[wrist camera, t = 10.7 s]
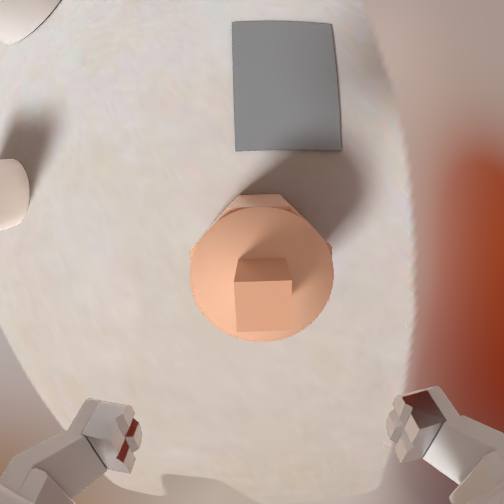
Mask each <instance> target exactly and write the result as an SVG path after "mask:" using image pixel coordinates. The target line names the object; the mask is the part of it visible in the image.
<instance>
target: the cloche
mask: <svg viewBox="0 0 504 504" xmlns="http://www.w3.org/2000/svg"><path fill="white" fill-rule="evenodd" d="M190 258H191V266H190V284H191V290H192V293H193V296H194V299H195V304H196V305H197V306H198V307H199V309H200V310H201V312H202V313H203V315H204V316H205V317H206V318H207V319H208V320H209V321H210V322H211V323H212V324H213V325H214V326H215V327H217V328H218V329H220V330H221V331H223V332H225V333H226V334H228V335H230V336H233V337H236V338H238V339H242V340H246V341H253V342H270V341H276V340H281V339H284V338H287V337H290V336H292V335H294V334H296V333H298V332H300V331H301V330H303V329H304V328H306V327H307V326H308V325H310V324H311V323H312V322H313V321H314V320H315V319H316V318H317V317H318V315H319V314H320V313H321V312H322V310H323V309H324V307H325V305H326V303H327V302H328V301H329V296H330V294H331V290H332V286H333V278H334V271H333V262H332V247H331V245H330V244H329V243H328V242H327V241H326V240H325V239H324V238H323V237H322V236H321V235H320V234H319V233H318V232H317V231H316V229H315V228H314V227H313V226H312V225H311V224H310V223H309V222H308V221H307V220H306V219H305V218H304V217H303V216H302V215H301V214H300V213H299V212H298V211H297V210H295V209H294V208H293V207H292V206H291V205H290V204H289V203H288V202H287V201H286V200H285V199H284V198H283V197H282V196H281V195H280V194H258V195H238V196H237V197H236V198H235V199H234V200H233V201H232V202H231V203H230V204H229V205H228V206H227V208H226V209H225V210H224V211H223V212H222V213H221V214H220V215H219V216H218V217H217V218H216V220H215V221H214V222H213V223H212V224H211V225H210V226H209V228H208V229H207V230H206V231H205V233H204V234H203V235H202V236H201V238H200V239H199V240H198V242H197V243H196V244H195V245H194V247H193V248H192V249H191V251H190Z"/></svg>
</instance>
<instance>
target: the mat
mask: <svg viewBox="0 0 504 504" xmlns="http://www.w3.org/2000/svg"><path fill="white" fill-rule="evenodd" d="M232 51H233V89H234V122H235V151H256V150H329V151H341V131H340V112H339V97H338V84H337V72H336V62H335V53H334V44H333V36H332V29H331V24H324V23H313V22H296V21H243V22H232Z"/></svg>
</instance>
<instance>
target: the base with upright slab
mask: <svg viewBox="0 0 504 504" xmlns="http://www.w3.org/2000/svg"><path fill="white" fill-rule="evenodd" d="M29 199H30V187H29V180H28V177H27V174H26V171H25V169H24V168H23V166H22V165H21V164H20V163H19V162H18V161H17V160H14V159H0V231H2V230H5V229H8V228H10V227H13V226H16V225H18V224H19V223H20V222H21V221H22V220H23V218H24V217H25V215H26V212H27V209H28V205H29Z"/></svg>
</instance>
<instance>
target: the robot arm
mask: <svg viewBox="0 0 504 504" xmlns="http://www.w3.org/2000/svg"><path fill="white" fill-rule="evenodd" d="M59 2H60V0H0V41H1V42H2V43H3V44H13V43H16V42H18V41H20V40H22V39H23V38H25V37H26V36H27V35H29V34H30V33H31V32H33V31H34V30H35V29H36V28H37V27H38V26H39V25H40V24H41V23H42V22H43V21H44V20H45V19H46V18H47V17H48V16H49V14H50V13H51V12H52V11H53V10H54V8H55V7H56V6H57V4H58V3H59ZM393 406H394V409H393V410H392V411H391V412H390V413H389V415H388V418H387V432H388V435H389V438H390V439H391V440H392V441H394V442H396V446H395V448H394V450H395V452H396V454H397V457H398V459H399V461H400V463H405V462H409V461H412V460H415V459H419V458H422V457H423V459H424V460H426V461H427V462H428V463H430V464H431V465H433V466H434V467H435V468H437V469H438V470H440V471H441V472H442V473H444V474H445V475H447V476H448V477H449V478H451V479H452V480H454V481H455V482H456V483H458V484H459V486H458V487H457V488H456V489H455V490H454V492H452V494H451V495H450V501H451V503H452V504H504V433H502V432H500V431H497V430H495V429H493V428H490V427H488V426H486V425H484V424H481V423H479V422H477V421H475V420H473V419H470V418H468V417H466V416H464V415H463V416H460V415H459V414H458V413H457V411H456V410H455V408H454V407H453V405H452V404H451V402H450V401H449V400H448V398H447V397H446V395H445V394H444V392H443V391H442V390H441V388H440V387H438V386H434V387H430V388H426V389H423V390H418V391H414V392H410V393H406V394H402V395H398V396H397V397H396V398H395V399H394V402H393ZM134 414H135V413H134V410H133V408H132V406H129V405H123V404H118V403H112V402H107V401H101V400H97V399H92V398H89V399H87V400H85V402H84V404H83V405H82V407H81V409H80V410H79V412H78V414H77V415H76V417H75V419H74V420H73V422H72V424H71V425H70V427H69V429H68V430H67V431H66V430H63V431H61V432H59V433H57V434H55V435H54V436H52V437H50V438H48V439H46V440H44V441H42V442H40V443H38V444H36V445H34V446H32V447H30V448H28V449H27V450H25V451H23V452H21V453H19V454H17V455H15V456H13V458H12V459H11V461H10V463H9V464H8V466H7V468H6V469H5V471H4V473H3V474H2V476H1V478H0V504H76V503H75V502H74V501H73V500H72V498H74V497H75V496H76V495H77V494H78V493H80V492H81V491H82V490H84V489H85V488H86V487H87V486H89V485H90V484H91V483H92V482H94V481H95V480H96V479H97V478H98V477H100V476H101V475H102V474H103V473H105V472H106V471H107V469H110V470H114V471H119V472H124V473H129V474H131V471H132V468H133V465H134V462H135V459H136V458H135V456H134V454H133V452H135V451H136V450H137V449H139V447H140V444H141V438H142V432H141V427H140V424H139V422H137V421H136V420H135V419H134V418H133V417H134Z"/></svg>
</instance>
